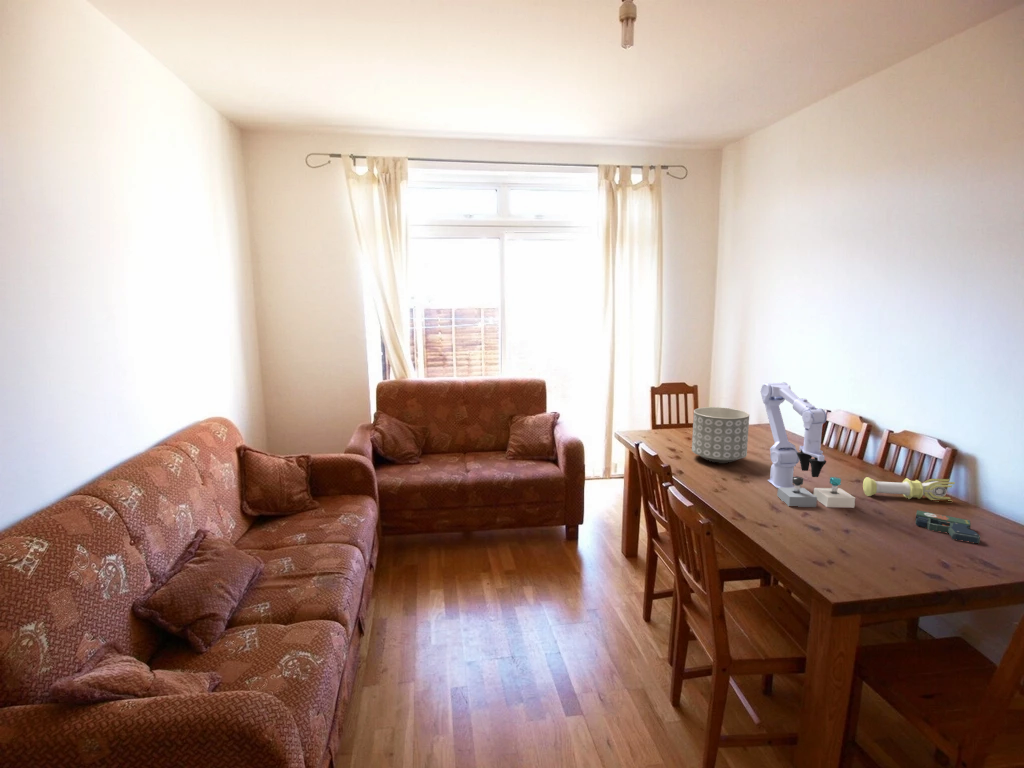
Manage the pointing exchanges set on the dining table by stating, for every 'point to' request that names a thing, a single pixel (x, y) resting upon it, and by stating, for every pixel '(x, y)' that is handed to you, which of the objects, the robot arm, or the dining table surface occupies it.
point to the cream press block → (834, 498)
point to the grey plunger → (797, 484)
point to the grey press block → (797, 497)
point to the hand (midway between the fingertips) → (809, 473)
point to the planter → (720, 434)
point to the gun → (947, 526)
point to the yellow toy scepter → (909, 488)
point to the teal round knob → (835, 484)
